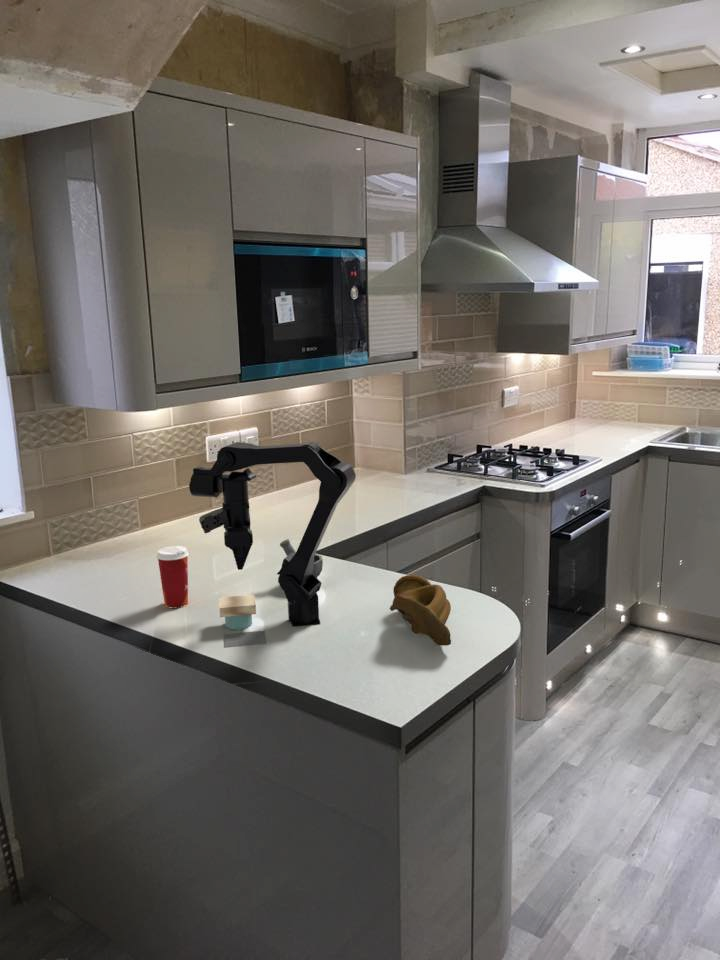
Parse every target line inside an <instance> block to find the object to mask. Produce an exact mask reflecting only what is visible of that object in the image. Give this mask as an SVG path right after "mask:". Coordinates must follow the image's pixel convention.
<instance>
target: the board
mask: <svg viewBox="0 0 720 960" xmlns="http://www.w3.org/2000/svg"><path fill="white" fill-rule="evenodd" d="M218 603H219V618H225V617H230V616H241V615H257V607H256V605H257V604H256V595H255V594H246V595H235V596H224V597H219V602H218Z"/></svg>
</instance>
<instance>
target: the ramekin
mask: <svg viewBox="0 0 720 960" xmlns="http://www.w3.org/2000/svg"><path fill="white" fill-rule="evenodd" d="M252 615H253V614H252ZM252 615H241V616H230V617H224V621H225V624H224V625H225V627H226V628H227V629H230V630H233V631H234V630H235V631H236V630H244V629H247V628H249V627H251V626H252V624H253V616H252Z"/></svg>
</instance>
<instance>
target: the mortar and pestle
mask: <svg viewBox="0 0 720 960" xmlns="http://www.w3.org/2000/svg"><path fill="white" fill-rule="evenodd" d="M279 546H280V547H281V548H282V550H283V551H284V553H285V555H286V557H287V556H288V555H289V554H290V553H292V552H293V551H294V552H295V553H296V551H297V550H295V548H294V547H293V545H292V544H291V541H290V539H289V538H286V539H284V540H282V541H281V542H280V543H279ZM323 561H324V560H323V557H322V555H320V554H317V553H315V556H314V568H313V572H312V573H313V574H314V575H315V577H316V578H317V579H318V577H319V576H320V575H321V573H322V571H323V566H324V565H323V564H324V562H323Z"/></svg>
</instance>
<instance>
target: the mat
mask: <svg viewBox="0 0 720 960" xmlns="http://www.w3.org/2000/svg"><path fill="white" fill-rule="evenodd" d="M266 644H267V639H266V631H265V630H257V631H245V632H236V633H235V632H234V633H233V632H232V633H224V634H223V646H224V647H223V648H226V649H227V648H234V647H245V646H256V645H266Z"/></svg>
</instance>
